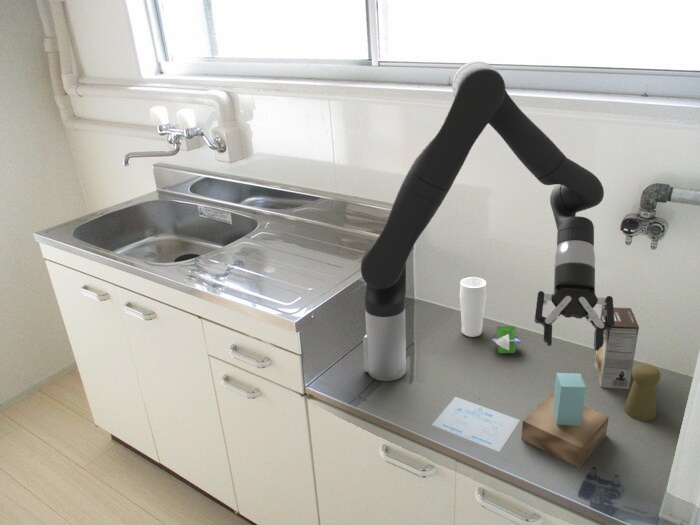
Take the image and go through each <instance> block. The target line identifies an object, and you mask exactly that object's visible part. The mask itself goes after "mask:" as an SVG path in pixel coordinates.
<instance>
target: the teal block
mask: <svg viewBox="0 0 700 525" xmlns="http://www.w3.org/2000/svg"><path fill="white" fill-rule="evenodd" d="M554 384H555V385H554V391H553V394H554V400H553V408H552V411H553V414H554V418H555V421H556V425H573V426H581V419H582V412H583V406H584V404H585V398H586V397H585V396H586V390H587V387H586V384H585V382H584V379H583V376H582V374H581V373H577V372H575V373H573V372H572V373H570V372H556V374H555V383H554Z"/></svg>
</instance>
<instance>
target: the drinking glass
mask: <svg viewBox="0 0 700 525" xmlns="http://www.w3.org/2000/svg"><path fill="white" fill-rule="evenodd" d="M486 300H487V281H486V280H485V279H483V278H482V277H477V276H469V277H465V278H462V279H461V280H460V283H459V303H460V317H461V318H460V320H461V321H460V322H461V333H462V334H463V335H464V336H466V337H469V338H475V337H479V336H481V335H482V332H483V323H484V322H483V321H484V316H485V314H484V313H485V307H486V302H487V301H486Z"/></svg>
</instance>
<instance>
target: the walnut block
mask: <svg viewBox="0 0 700 525" xmlns="http://www.w3.org/2000/svg"><path fill="white" fill-rule="evenodd" d="M553 400H554V393H551V394H549V395H548V397H547V398H545V399H544V400H543V401H542V402H541V403H540V404H539V405H538V406H537V407H535V409H533V411H532V412H530V414H528V415H527V416H526V417H525V418H524V419H523V420H522V425H521V426H522V427H521V440H522V441H523V442H526V443H528V444H531V445H532V446H534V447H536V448H539V449H540V450H543V451H544V452H547V453H549V454H551V455H553V456H555V457H557V458H559V459H561V460H563V461H565V462H567V463H569V464H571V465H572V466H573V465H574V466H575V467H577V468H580V467H581V466H582V464H584V462H585V461H587V459H588V458H589V456H590V455H591V454H592V453H593V452H594V451H595V449H596V448H597V447H598V446H599V445H600V443H601V442H602V441H603V440H604V438H605V437H606V436H607V434H608V433H607V432H608V427H609V426H608V424H609V418H610V417H609V416H608V415H607V414H603V413H601V412H598V411H595V410H593V409H591V408H588V407H587V406H586V407H585V406H584V405H583V412H582V419H581V426H573V425H556V421H555V418H554V414H553V411H552V408H553Z"/></svg>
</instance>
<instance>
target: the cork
mask: <svg viewBox="0 0 700 525" xmlns="http://www.w3.org/2000/svg"><path fill="white" fill-rule="evenodd" d="M631 377H632V379H633V382H632V384H631V387H630V389H629V390H630V391H629V393H628V396H627V399H626V402H625V405H624V408H623V409H624V412H625V414H626V415H627V416H629V417H630V418H633V419H634V420H638V421H641V422H642V421H643V422H649V421H652V420H654V419H655V418H656V415H657V414H656V413H657V400H656V399H657V385H658V383H659V382H660V380H661V373H660V370H659V369H658V368H657V367H656V366H654V365H653V364H649V363H638V364H636V365H635V366H633V367H632V373H631Z"/></svg>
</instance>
